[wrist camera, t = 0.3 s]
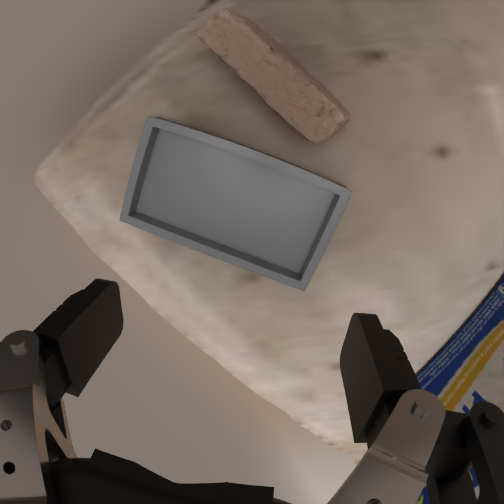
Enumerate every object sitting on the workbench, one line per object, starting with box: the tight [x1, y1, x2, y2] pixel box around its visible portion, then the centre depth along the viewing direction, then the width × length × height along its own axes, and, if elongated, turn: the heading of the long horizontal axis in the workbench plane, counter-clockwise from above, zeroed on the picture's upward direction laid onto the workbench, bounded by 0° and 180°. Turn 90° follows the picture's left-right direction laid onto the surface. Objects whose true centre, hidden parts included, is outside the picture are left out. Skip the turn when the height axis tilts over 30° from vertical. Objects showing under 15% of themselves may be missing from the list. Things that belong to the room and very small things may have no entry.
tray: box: [120, 116, 352, 291], centre depth 35 cm, size 13×24×3 cm, turn 69°
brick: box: [197, 8, 350, 144], centre depth 27 cm, size 16×8×5 cm
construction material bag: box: [416, 277, 504, 504], centre depth 28 cm, size 43×12×30 cm, turn 147°
